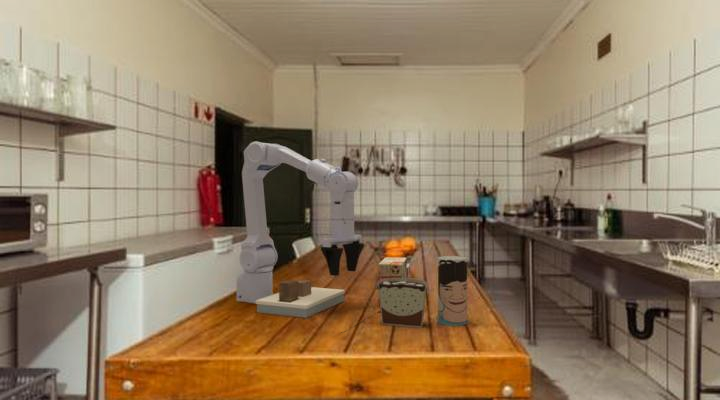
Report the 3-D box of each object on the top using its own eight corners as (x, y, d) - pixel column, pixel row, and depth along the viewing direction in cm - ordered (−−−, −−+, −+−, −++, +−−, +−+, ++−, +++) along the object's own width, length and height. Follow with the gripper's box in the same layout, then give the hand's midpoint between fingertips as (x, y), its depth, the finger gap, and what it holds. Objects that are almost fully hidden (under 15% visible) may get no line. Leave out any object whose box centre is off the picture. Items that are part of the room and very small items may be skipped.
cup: (436, 324, 120) (435, 259, 120) (440, 317, 127) (440, 255, 126) (465, 326, 118) (465, 260, 118) (468, 319, 125) (468, 256, 124)
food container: (433, 321, 123) (433, 279, 123) (428, 328, 117) (428, 283, 117) (383, 317, 127) (383, 276, 127) (376, 323, 121) (375, 280, 121)
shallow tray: (257, 315, 130) (257, 303, 130) (299, 299, 148) (299, 289, 148) (306, 321, 124) (305, 308, 124) (343, 303, 142) (343, 292, 142)
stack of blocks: (389, 294, 156) (389, 252, 155) (411, 294, 155) (410, 253, 154) (378, 310, 135) (377, 263, 135) (402, 311, 134) (402, 263, 133)
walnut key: (279, 313, 129) (279, 282, 129) (288, 309, 133) (287, 280, 133) (289, 314, 128) (289, 283, 128) (298, 310, 132) (298, 280, 131)
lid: (255, 303, 130) (255, 286, 130) (299, 288, 149) (298, 273, 148) (306, 308, 124) (306, 290, 124) (345, 292, 142) (345, 277, 142)
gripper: (339, 221, 124) (339, 278, 124) (371, 218, 136) (371, 270, 136) (315, 220, 127) (315, 276, 128) (349, 217, 140) (349, 268, 140)
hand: (343, 273), depth 132 cm, fingers open, 7 cm apart
